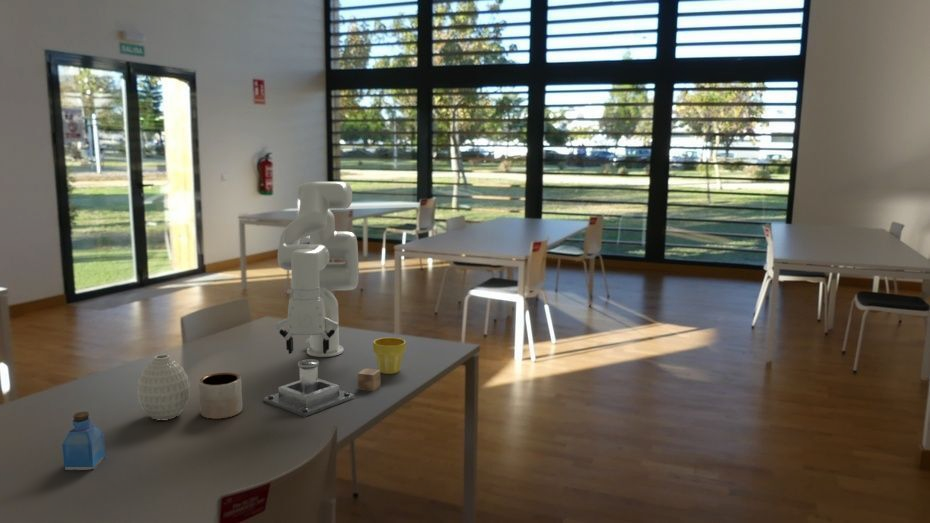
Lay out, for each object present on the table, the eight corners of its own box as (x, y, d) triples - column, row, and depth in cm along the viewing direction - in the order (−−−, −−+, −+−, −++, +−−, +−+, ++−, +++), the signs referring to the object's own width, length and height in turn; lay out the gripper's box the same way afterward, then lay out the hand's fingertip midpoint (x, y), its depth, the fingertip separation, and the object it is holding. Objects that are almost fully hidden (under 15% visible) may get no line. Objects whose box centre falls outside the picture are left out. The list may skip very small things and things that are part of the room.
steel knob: (297, 399, 195) (295, 365, 193) (300, 392, 201) (300, 359, 199) (317, 399, 195) (316, 365, 194) (321, 392, 201) (320, 359, 199)
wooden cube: (358, 389, 207) (358, 373, 206) (365, 383, 212) (365, 368, 211) (373, 391, 205) (373, 375, 205) (380, 385, 210) (380, 369, 209)
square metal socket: (263, 401, 196) (262, 387, 196) (313, 384, 211) (312, 371, 210) (304, 416, 186) (304, 402, 185) (354, 397, 200) (354, 384, 199)
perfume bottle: (77, 458, 160) (73, 409, 158) (105, 457, 161) (101, 408, 159) (64, 471, 154) (59, 420, 152) (93, 470, 155) (89, 419, 153)
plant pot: (408, 366, 228) (408, 337, 227) (402, 376, 218) (402, 346, 217) (377, 364, 229) (377, 336, 228) (370, 375, 219) (369, 345, 218)
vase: (166, 429, 177) (162, 366, 174) (128, 421, 181) (123, 360, 179) (202, 411, 189) (198, 352, 186) (164, 404, 193) (160, 346, 190)
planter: (251, 408, 192) (249, 374, 190) (225, 422, 182) (223, 387, 180) (218, 402, 195) (216, 370, 193) (191, 417, 185) (189, 382, 183)
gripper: (271, 296, 189) (274, 356, 192) (335, 297, 190) (337, 356, 193) (277, 290, 196) (280, 347, 200) (339, 290, 197) (340, 347, 200)
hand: (308, 352), depth 196 cm, fingers open, 9 cm apart
